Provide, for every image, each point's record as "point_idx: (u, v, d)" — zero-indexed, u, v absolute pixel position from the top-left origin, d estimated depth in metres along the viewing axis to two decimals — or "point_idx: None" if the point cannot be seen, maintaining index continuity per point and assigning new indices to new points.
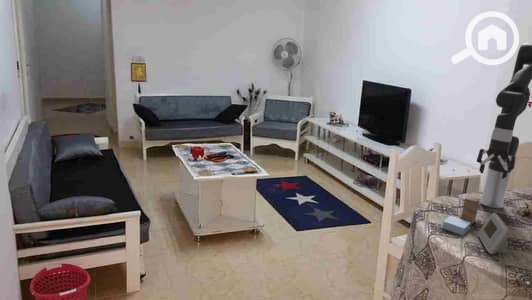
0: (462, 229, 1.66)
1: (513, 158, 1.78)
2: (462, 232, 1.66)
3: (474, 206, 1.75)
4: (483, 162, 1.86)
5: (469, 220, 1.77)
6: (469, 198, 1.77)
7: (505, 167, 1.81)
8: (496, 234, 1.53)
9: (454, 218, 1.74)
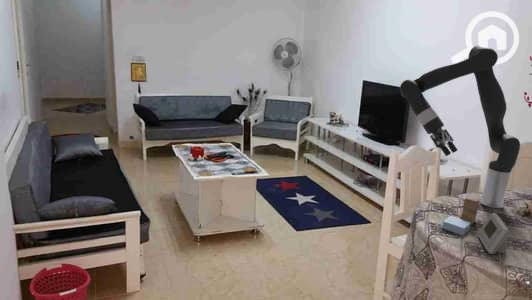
0: (462, 229, 1.66)
1: None
2: (462, 232, 1.66)
3: (474, 206, 1.75)
4: None
5: (469, 220, 1.77)
6: (469, 198, 1.77)
7: None
8: (496, 234, 1.53)
9: (454, 218, 1.74)
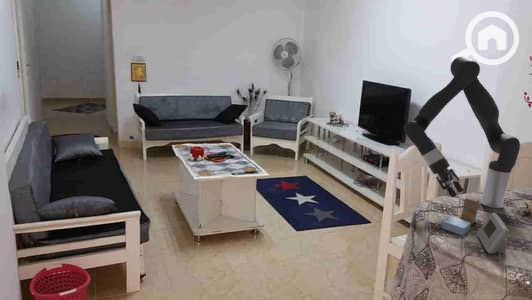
0: (462, 229, 1.66)
1: None
2: (462, 232, 1.66)
3: (474, 206, 1.75)
4: None
5: (469, 220, 1.77)
6: (469, 198, 1.77)
7: None
8: (495, 234, 1.53)
9: (454, 218, 1.74)
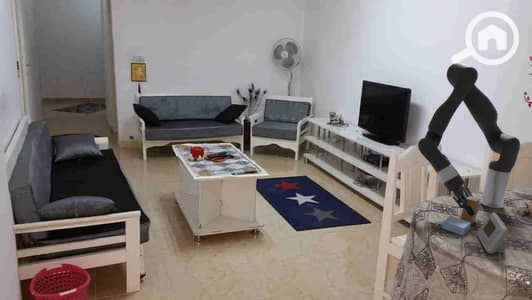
0: (462, 229, 1.66)
1: None
2: (462, 232, 1.66)
3: (474, 206, 1.75)
4: None
5: (469, 220, 1.77)
6: (469, 198, 1.77)
7: None
8: (495, 233, 1.53)
9: (454, 218, 1.74)
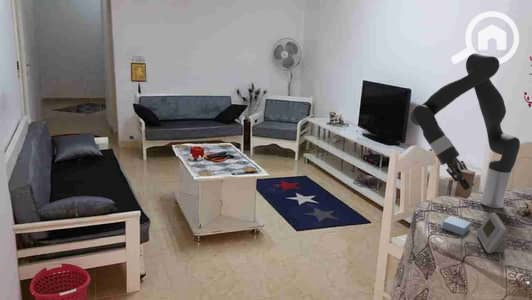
0: (462, 229, 1.66)
1: None
2: (462, 232, 1.66)
3: (469, 179, 1.63)
4: None
5: (464, 194, 1.65)
6: (464, 171, 1.65)
7: None
8: (494, 233, 1.53)
9: (454, 218, 1.74)
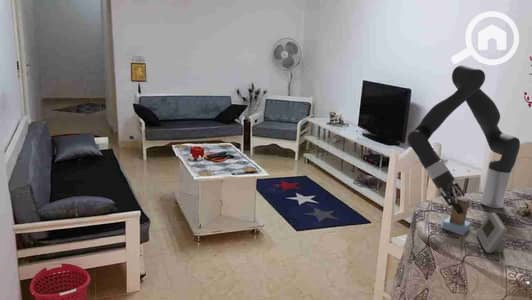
0: (462, 229, 1.66)
1: None
2: (462, 232, 1.66)
3: (464, 206, 1.66)
4: None
5: (458, 221, 1.68)
6: (458, 198, 1.68)
7: None
8: (493, 233, 1.53)
9: None
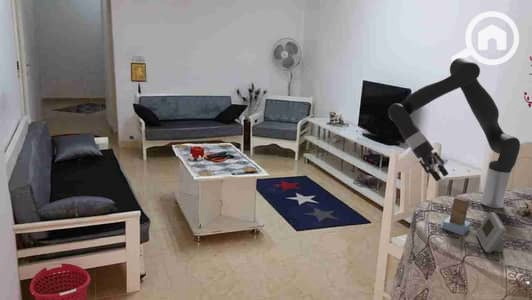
0: (462, 229, 1.66)
1: None
2: (462, 232, 1.66)
3: (463, 206, 1.66)
4: None
5: (458, 221, 1.68)
6: (458, 198, 1.68)
7: None
8: (492, 233, 1.53)
9: None
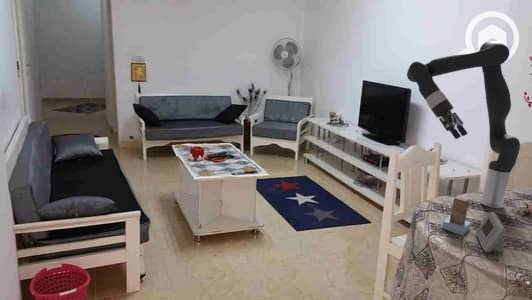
0: (462, 229, 1.66)
1: None
2: (462, 232, 1.66)
3: (463, 206, 1.66)
4: None
5: (458, 221, 1.68)
6: (458, 198, 1.68)
7: None
8: (492, 232, 1.54)
9: None
